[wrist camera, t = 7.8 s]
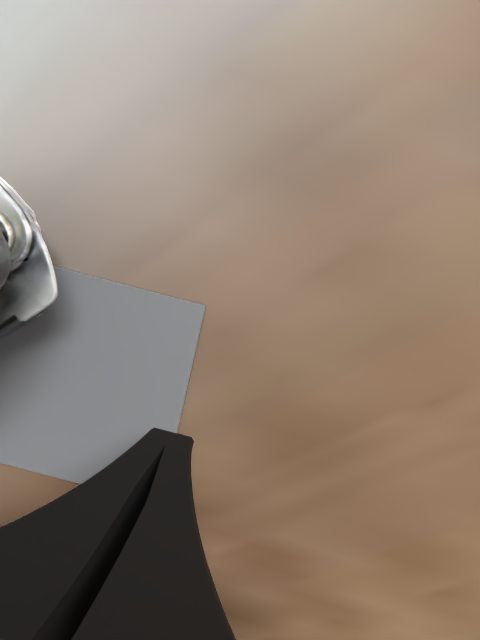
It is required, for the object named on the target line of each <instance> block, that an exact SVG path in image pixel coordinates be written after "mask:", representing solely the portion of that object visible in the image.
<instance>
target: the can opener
mask: <svg viewBox="0 0 480 640" xmlns="http://www.w3.org/2000/svg"><path fill="white" fill-rule="evenodd" d="M41 233H42V232H41V229H40V227H39V224H38V223H37V221H36V214H35V212H34V211H33V210H32V209H31V208H30V207H29V206H28V205H27V204H26V202H25V201H24V200H23V199H22V198H21V197H20V196H19V194H18V193H17V192H16V191H15V190H14V189H13V188H12V187H11V186H10V185H9V184H8V183H7V182H6V181H5V180H3V179H2V178H1V177H0V340H1V339H4V338H6V337H7V336H9V335H10V334H12V333H13V332H15V331H17V330H19V329H20V328H22V327H24V326H25V325H26V324H29V323H31V322H32V321H33V320H35V319H37V318H38V317H39V316H41V315H42V314H43V312H42V310H44V309H45V308H47V307H48V306H49V305H51V304H52V303H53V302H54V301H55V300H56V298H57V295H58V289H57V281H56V276H55V272H54V268H53V264H52V260H51V257H50V254H49V251H48V248H47V246H46V244H45V242H44V240H43V238H42V236H41Z"/></svg>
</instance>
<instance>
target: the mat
mask: <svg viewBox="0 0 480 640" xmlns="http://www.w3.org/2000/svg"><path fill="white" fill-rule="evenodd" d="M53 268H54V272H55V276H56V281H57V289H58V295H57V298H56V300H55V301H54V302H53V303H52V304H51V305H49V306H48V307H47V308H45V309H44V310H42V312H43V314H42V315H41V316H39V317H38V318H37V319H35V320H33V321H32V322H31V323H29V324H26V325H25V326H24V327H22V328H20V329H19V330H17V331H15V332H13V333H12V334H10V335H9V336H7V337H6V338H4V339H1V340H0V463H2V464H6V465H10V466H14V467H18V468H21V469H25V470H29V471H33V472H37V473H40V474H44V475H48V476H52V477H56V478H59V479H63V480H67V481H71V482H75V483H78V484H82V483H83V482H85V481H86V480H88V479H89V478H91V477H92V476H94V475H95V474H96V473H98V472H99V471H101V470H102V469H104V468H105V467H106V466H108V465H109V464H110V463H112V462H113V461H114V460H116V459H117V458H118V457H119V456H121V455H122V454H123V453H124V452H126V451H127V450H128V449H129V448H131V447H132V446H133V445H134V444H135V443H136V442H138V441H139V440H140V439H141V438H142V437H143V436H144V435H145V434H146V433H148V432H149V431H150V430H151V429H153V428H158V429H162V430H166V431H170V432H173V433H177V431H178V427H179V423H180V418H181V414H182V409H183V405H184V400H185V396H186V392H187V387H188V383H189V378H190V374H191V370H192V365H193V361H194V356H195V352H196V348H197V343H198V339H199V334H200V330H201V326H202V321H203V317H204V312H205V308H206V305H202V304H198V303H194V302H190V301H186V300H183V299H179V298H175V297H171V296H167V295H163V294H160V293H156V292H152V291H148V290H144V289H140V288H136V287H133V286H129V285H125V284H121V283H117V282H113V281H110V280H106V279H102V278H98V277H94V276H90V275H87V274H83V273H79V272H75V271H71V270H67V269H64V268H60V267H56V266H53Z"/></svg>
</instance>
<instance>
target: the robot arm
mask: <svg viewBox="0 0 480 640" xmlns="http://www.w3.org/2000/svg"><path fill="white" fill-rule="evenodd" d="M193 442H194V441H193V439H192V438H191V437H188V436H185V435H181V434H177V433H173V432H170V431H166V430H162V429H158V428H153V429H151V430H150V431H149V432H148V433H146V434H145V435H144V436H143V437H142V438H141V439H140V440H139V441H138V442H136V443H135V444H134V445H133V446H132V447H131V448H129V449H128V450H127V451H126V452H124V453H123V454H122V455H121V456H119V457H118V458H117V459H116V460H114V461H113V462H112V463H110V464H109V465H108V466H106V467H105V468H104V469H102V470H101V471H99V472H98V473H96V474H95V475H94V476H92V477H91V478H89V479H88V480H86V481H85V482H83V483H82V484H80V485H79V486H77V487H76V488H74V489H72V490H71V491H69V492H68V493H66V494H64V495H63V496H61V497H59V498H57V499H56V500H54V501H52V502H50V503H49V504H47V505H45V506H43V507H41V508H39V509H37V510H35V511H33V512H32V513H30V514H28V515H26V516H24V517H22V518H20V519H18V520H16V521H14V522H12V523H9V524H7V525H5V526H3V527H1V528H0V640H236V639H235V637H234V634H233V632H232V630H231V627H230V625H229V623H228V620H227V618H226V615H225V613H224V610H223V608H222V605H221V602H220V600H219V597H218V594H217V591H216V588H215V585H214V582H213V579H212V576H211V573H210V570H209V567H208V564H207V561H206V557H205V554H204V550H203V546H202V542H201V538H200V534H199V529H198V525H197V519H196V514H195V507H194V501H193V492H192V480H191V452H192V446H193Z"/></svg>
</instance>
